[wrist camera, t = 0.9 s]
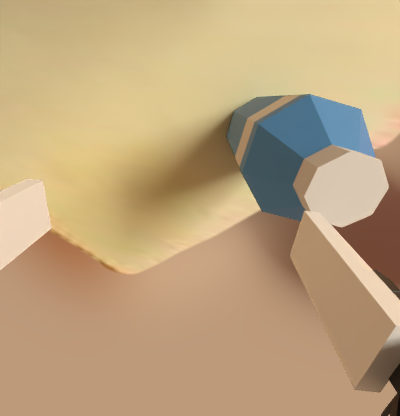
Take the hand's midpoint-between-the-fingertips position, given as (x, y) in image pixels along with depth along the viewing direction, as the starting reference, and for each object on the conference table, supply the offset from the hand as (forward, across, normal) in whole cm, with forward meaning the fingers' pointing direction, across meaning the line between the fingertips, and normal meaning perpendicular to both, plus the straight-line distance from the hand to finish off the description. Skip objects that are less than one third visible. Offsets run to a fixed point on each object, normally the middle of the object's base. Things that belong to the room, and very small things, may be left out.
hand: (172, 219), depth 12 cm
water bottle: (+26, +9, +2) cm, 28 cm away
